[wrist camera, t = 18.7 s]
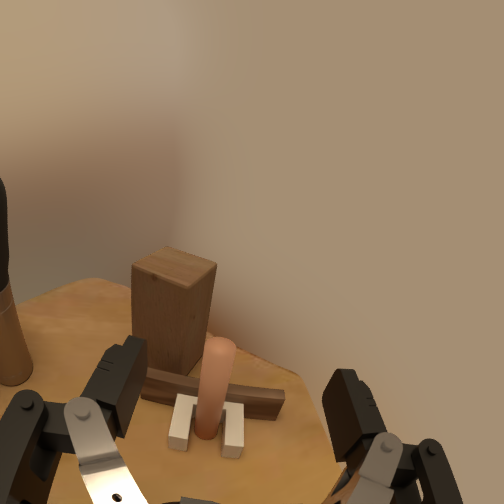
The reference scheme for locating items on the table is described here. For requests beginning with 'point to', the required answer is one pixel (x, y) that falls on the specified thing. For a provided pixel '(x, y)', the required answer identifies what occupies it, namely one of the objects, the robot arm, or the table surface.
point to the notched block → (229, 417)
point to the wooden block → (172, 307)
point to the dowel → (213, 385)
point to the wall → (254, 398)
